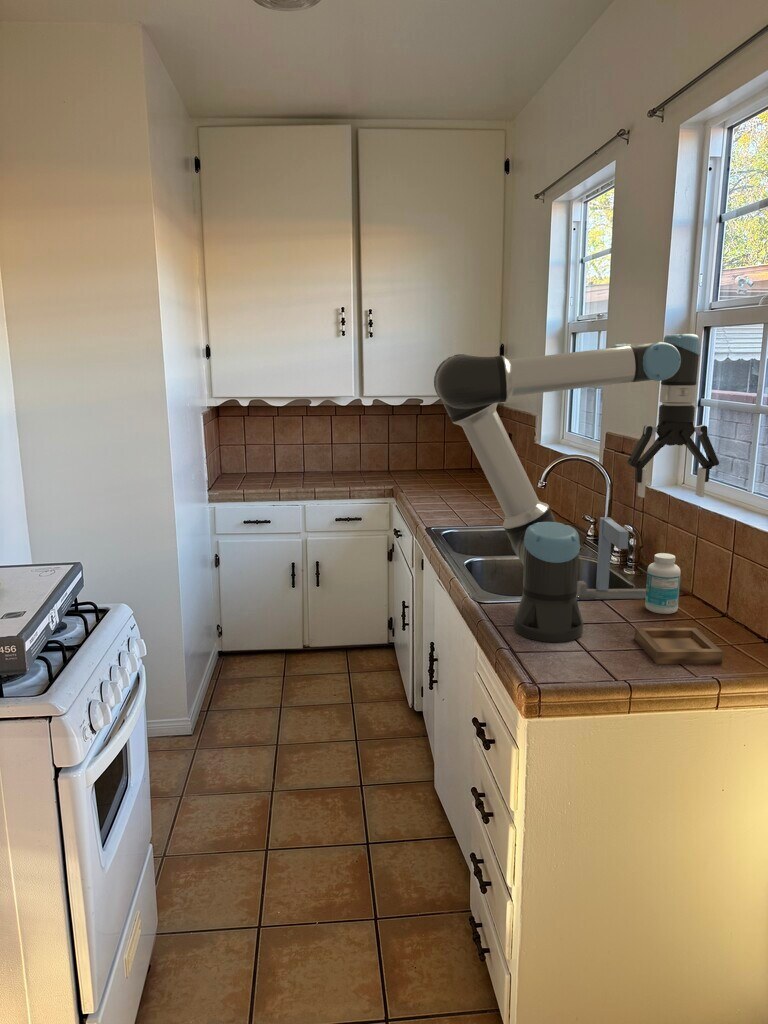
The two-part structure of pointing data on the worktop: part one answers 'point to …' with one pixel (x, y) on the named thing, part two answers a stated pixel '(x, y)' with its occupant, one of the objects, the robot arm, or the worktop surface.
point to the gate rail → (608, 593)
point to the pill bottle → (663, 584)
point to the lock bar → (608, 548)
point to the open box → (678, 646)
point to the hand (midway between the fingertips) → (670, 496)
